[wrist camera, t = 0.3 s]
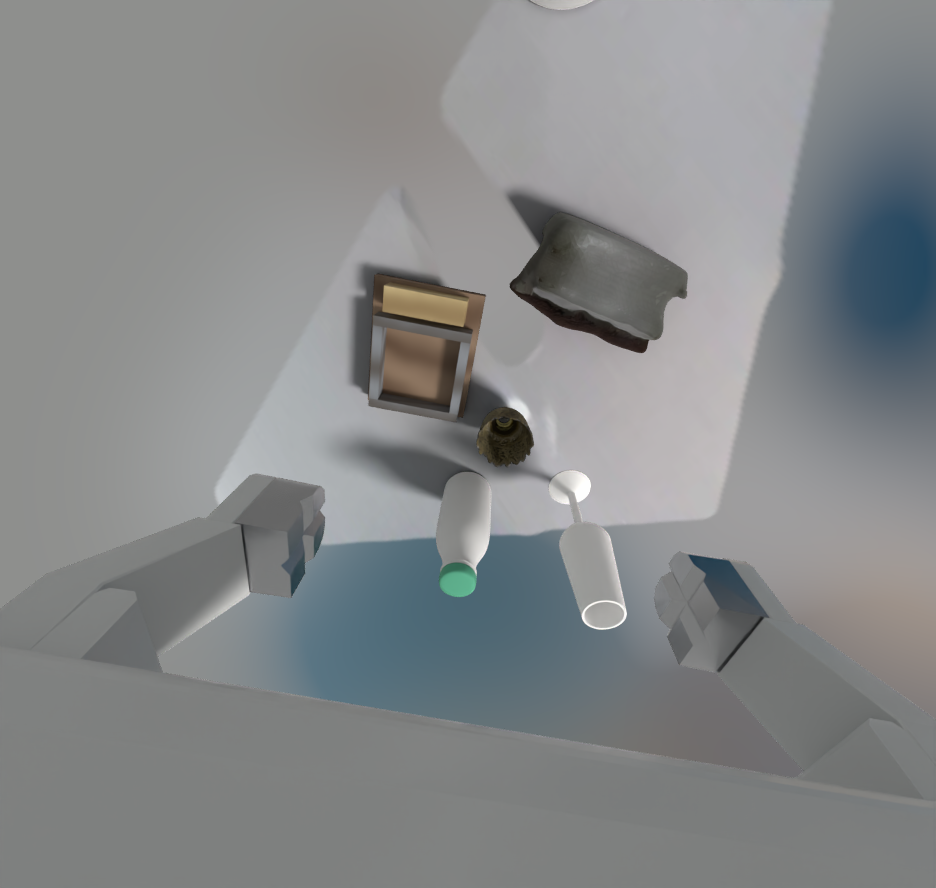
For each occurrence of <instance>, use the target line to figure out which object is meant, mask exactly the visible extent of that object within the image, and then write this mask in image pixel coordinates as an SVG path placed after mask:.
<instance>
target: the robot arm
mask: <svg viewBox="0 0 936 888" xmlns="http://www.w3.org/2000/svg"><path fill="white" fill-rule="evenodd" d="M530 1H532V2H534V3H535V4H537V5H540V6H542V7H545V8H549V9H555V10H567V9H573V8H577V7H580V6H583V5H586V4H588V3H590V2H592V1H593V0H530ZM324 502H325V493H324V489H323V488H322V486H317V485H312V484H307V483H302V482H297V481H293V480H288V479H283V478H276V477H272V476H266V475H261V474H253V475H250V476H249V477H248V478H247V479H246V480H245V481H244V482H242V483H241V484H240V485H239V486H238V487H237V488H236V489H235V490H234V491H233V492H232V493H231V494H230V495H229V496H228V497H227V498H226V499H225V500H224V501H223V502H222V503H221V504H220V505H219V506H218V507H217V508H216V509H215V510H214V511H213V512H212V513H211V514H210V515H209V516H208V517H207V518H200V517H198V518H195V519H193V520H190V521H187V522H184V523H182V524H179V525H176V526H174V527H171V528H168V529H165V530H163V531H160V532H158V533H155V534H152V535H149V536H147V537H144V538H141V539H139V540H136V541H133V542H130V543H128V544H125V545H122V546H120V547H117V548H114V549H112V550H109V551H106V552H104V553H101V554H98V555H96V556H93V557H90V558H88V559H85V560H82V561H79V562H77V563H74V564H71V565H69V566H66V567H63V568H60V569H58V570H55V571H53V572H50V573H47V574H45V575H44V576H43V577H41V578H40V579H39V580H37V581H36V582H35V583H33V584H32V585H31V586H29V587H28V588H27V589H25V590H24V591H23V592H21V593H20V594H19V595H17V596H16V597H15V598H14V599H12V600H11V601H9V602H8V603H7V604H6V605H4V606H3V607H2V608H0V888H936V719H935V718H933V717H932V716H930V715H929V714H928V713H926V712H925V711H923V710H922V709H920V708H919V707H918V706H916V705H915V704H914V703H912V702H911V701H909V700H908V699H907V698H905V697H904V696H902V695H901V694H900V693H898V692H897V691H895V690H894V689H893V688H891V687H890V686H888V685H887V684H886V683H884V682H883V681H881V680H880V679H878V678H877V677H876V676H875V675H873V674H872V673H870V672H869V671H868V670H866V669H865V668H863V667H862V666H861V665H859V664H858V663H856V662H855V661H854V660H852V659H851V658H849V657H848V656H847V655H845V654H844V653H842V652H841V651H840V650H838V649H837V648H835V647H834V646H833V645H831V644H830V643H828V642H827V641H826V640H824V639H823V638H822V637H820V636H819V635H817V634H816V633H815V632H813V631H812V630H810V629H809V628H808V627H806V626H805V625H803V624H797V623H796V622H795V621H794V620H793V619H792V617H791V616H790V614H789V613H788V612H787V610H786V609H785V608H784V607H783V605H782V604H781V603H780V601H779V600H778V599H777V597H776V596H775V595H774V594H773V592H772V591H771V590H770V588H769V587H768V586H767V584H766V583H765V582H764V580H763V579H762V578H761V577H760V575H759V574H758V573H757V572H756V570H755V569H754V568H753V567H752V566H751V565H750V564H748V563H747V562H743V561H737V560H730V559H724V558H723V559H720V558H714V557H709V556H703V555H697V554H691V553H686V552H678V553H676V554H675V555H674V556H673V557H672V559H671V561H670V562H669V566H670V569H671V572H669V573H668V574H666V575H664V576H662V577H661V578H660V580H659V582H658V584H657V586H656V588H655V596H654V602H655V607H656V611H657V614H658V616H659V619H660V620H661V621H662V622H663V623H664V624H665V625H667V627H669V628H670V630H669V633H668V635H667V638H668V640H669V643H670V645H671V647H672V650H673V652H674V654H675V657H676V659H677V661H678V664H679V665H681V666H685V667H691V668H696V669H701V670H705V671H710V672H715V673H719V674H718V676H719V677H720V678H721V679H722V680H723V682H724V683H725V684H726V685H727V686H728V687H729V688H730V689H731V690H732V692H733V693H734V694H735V695H736V696H737V697H738V698H739V700H741V702H742V703H743V704H744V705H745V706H746V707H747V709H748V710H749V711H750V712H751V713H752V714H753V715H754V716H755V717H756V719H757V720H758V721H759V722H760V723H761V724H762V725H763V726H764V728H765V729H766V730H767V731H768V732H769V733H770V734H771V735H772V737H773V738H774V739H775V740H776V741H777V742H778V743H779V744H780V746H781V747H782V748H783V749H784V750H785V751H786V752H787V753H788V755H789V756H790V757H791V758H792V759H793V760H794V761H795V762H796V764H797V765H798V766H799V767H800V768H801V769H802V770H803V771H804V772H802V773H801V774H800V775H799V776H797V777H796V778H792V777H786V776H780V775H773V774H768V773H762V772H756V771H750V770H743V769H738V768H732V767H726V766H720V765H714V764H708V763H702V762H696V761H690V760H684V759H678V758H671V757H666V756H660V755H654V754H648V753H642V752H636V751H630V750H624V749H618V748H612V747H606V746H599V745H593V744H588V743H581V742H575V741H569V740H563V739H557V738H551V737H545V736H539V735H533V734H527V733H521V732H515V731H510V730H504V729H497V728H492V727H486V726H480V725H473V724H467V723H461V722H455V721H450V720H443V719H438V718H431V717H426V716H420V715H413V714H407V713H401V712H396V711H390V710H384V709H377V708H372V707H365V706H360V705H353V704H348V703H342V702H336V701H330V700H324V699H318V698H312V697H306V696H300V695H294V694H288V693H282V692H276V691H270V690H264V689H257V688H252V687H246V686H240V685H234V684H228V683H222V682H216V681H210V680H204V679H198V678H192V677H185V676H180V675H174V674H168V673H163V671H162V668H161V666H160V663H159V660H158V657H159V656H160V655H162V654H163V653H165V652H166V651H168V650H169V649H170V648H172V647H173V646H175V645H176V644H178V643H179V642H181V641H182V640H184V639H185V638H187V637H188V636H190V635H191V634H192V633H194V632H195V631H197V630H198V629H200V628H201V627H203V626H204V625H206V624H207V623H208V622H210V621H212V620H213V619H214V618H216V617H217V616H219V615H220V614H222V613H223V612H225V611H226V610H228V609H229V608H231V607H232V606H234V605H235V604H236V603H238V602H239V601H241V600H242V599H244V598H245V597H247V596H248V595H249V594H250V592H253V593H260V594H267V595H274V596H281V597H288V598H292V596H293V594H294V592H295V590H296V589H297V587H298V585H299V583H300V582H301V580H302V578H303V576H304V575H305V563H306V562H308V561H309V560H311V559H313V558H314V557H315V555H316V553H317V551H318V549H319V547H320V544H321V541H322V538H323V534H324V528H325V517H324V515H323V514H322V513H321V511H320V509H321V507H322V506H323V504H324Z"/></svg>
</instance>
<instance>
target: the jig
mask: <svg viewBox="0 0 936 888" xmlns="http://www.w3.org/2000/svg"><path fill="white" fill-rule="evenodd" d="M485 297H486V295H485V294H479V293H474V292H469V291H464V290H458V289H454V288H449V287H444V286H438V285H433V284H428V283H423V282H418V281H413V280H408V279H403V278H397V277H392V276H387V275H382V274H376V275H374V294H373V313H372V332H371V351H370V370H369V389H368V400H369V406H371V407H376V408H382V409H387V410H392V411H398V412H403V413H409V414H414V415H419V416H425V417H430V418H435V419H441V420H446V421H451V422H457V417H461V418H463V415H464V410H465V404H466V399H467V394H468V388H469V383H470V377H471V372H472V367H473V361H474V356H475V350H476V345H477V340H478V334H479V329H480V324H481V318H482V313H483V307H484V302H485Z"/></svg>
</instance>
